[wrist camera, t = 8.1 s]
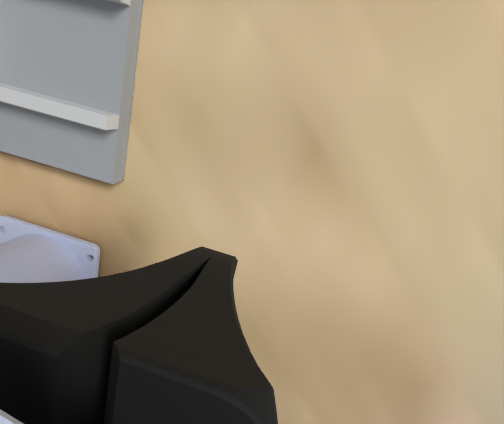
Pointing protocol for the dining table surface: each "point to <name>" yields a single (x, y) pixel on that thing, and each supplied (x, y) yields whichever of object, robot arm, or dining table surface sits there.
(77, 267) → the robot arm
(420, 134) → the dining table surface
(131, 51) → the track
